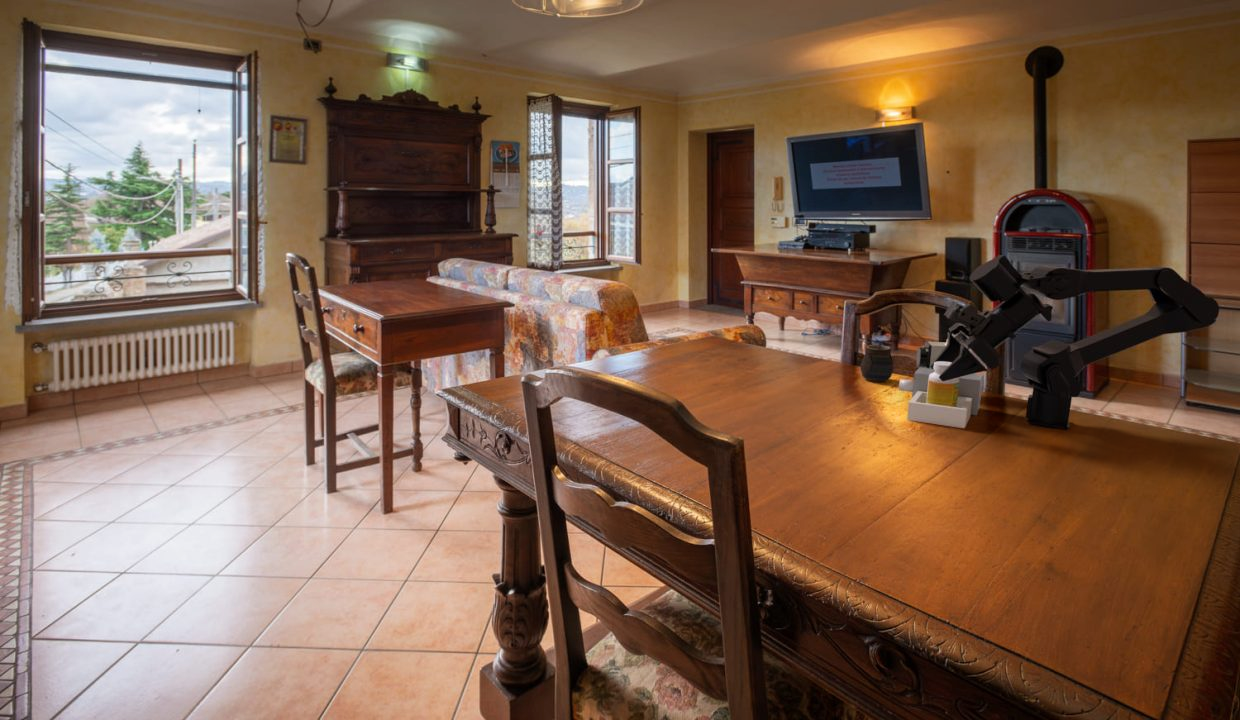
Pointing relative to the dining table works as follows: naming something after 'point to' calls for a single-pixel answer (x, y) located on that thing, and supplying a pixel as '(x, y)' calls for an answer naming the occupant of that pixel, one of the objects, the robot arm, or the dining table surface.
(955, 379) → the supplement bottle
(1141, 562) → the dining table surface
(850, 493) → the dining table surface
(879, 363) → the mate gourd
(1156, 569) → the dining table surface
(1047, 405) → the robot arm
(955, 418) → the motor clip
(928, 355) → the pneumatic valve
